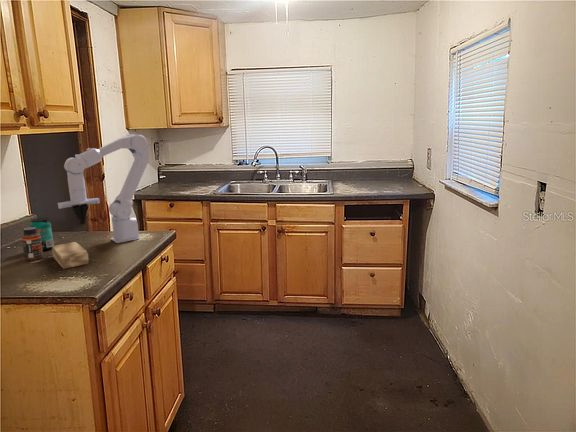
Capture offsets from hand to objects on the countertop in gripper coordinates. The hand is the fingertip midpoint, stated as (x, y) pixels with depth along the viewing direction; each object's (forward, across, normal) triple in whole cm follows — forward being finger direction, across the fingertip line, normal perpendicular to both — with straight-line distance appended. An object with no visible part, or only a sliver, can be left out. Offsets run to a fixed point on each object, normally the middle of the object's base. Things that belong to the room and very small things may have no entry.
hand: (82, 223), depth 169 cm
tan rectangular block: (+9, -9, -14) cm, 19 cm away
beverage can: (+10, -13, +8) cm, 18 cm away
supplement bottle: (+10, -18, -2) cm, 20 cm away
